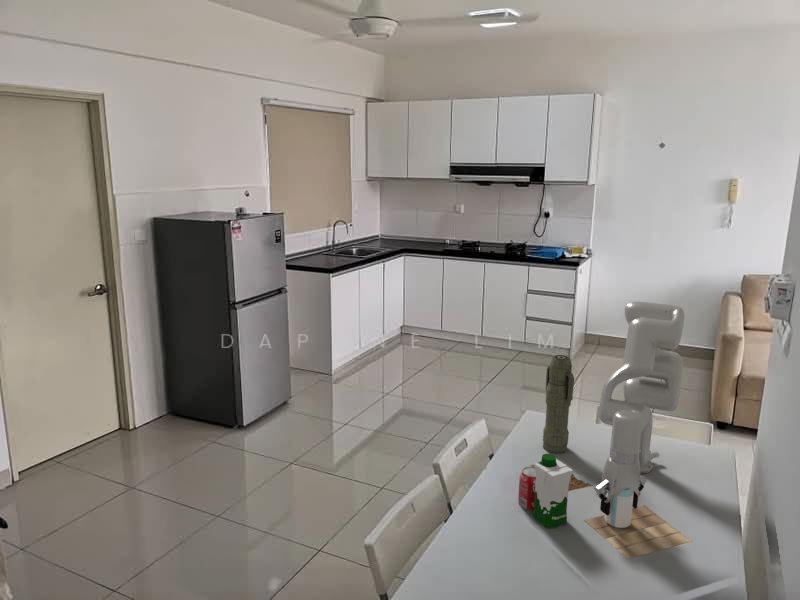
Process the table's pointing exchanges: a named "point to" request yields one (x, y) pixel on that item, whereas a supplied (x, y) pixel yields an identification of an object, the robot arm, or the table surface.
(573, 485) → the wooden fragment
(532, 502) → the soda can
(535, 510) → the milk carton
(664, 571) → the table surface
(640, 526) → the plank
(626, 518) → the can
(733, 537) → the table surface
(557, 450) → the thermos
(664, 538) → the oak board
